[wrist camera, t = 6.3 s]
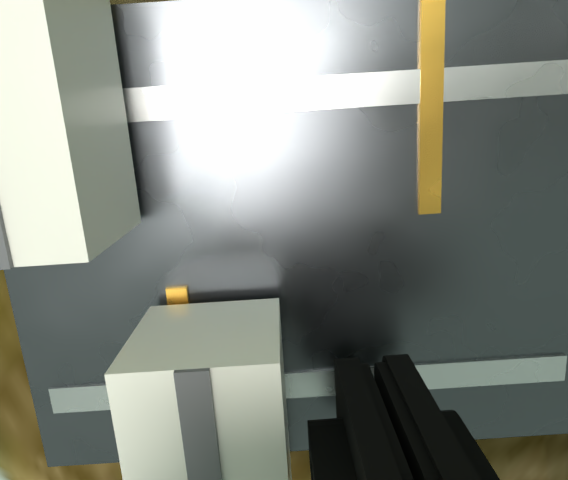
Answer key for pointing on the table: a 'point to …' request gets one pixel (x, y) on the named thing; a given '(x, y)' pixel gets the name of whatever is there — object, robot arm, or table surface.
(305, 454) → the table surface
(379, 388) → the robot arm
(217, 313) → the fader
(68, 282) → the console
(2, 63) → the block
